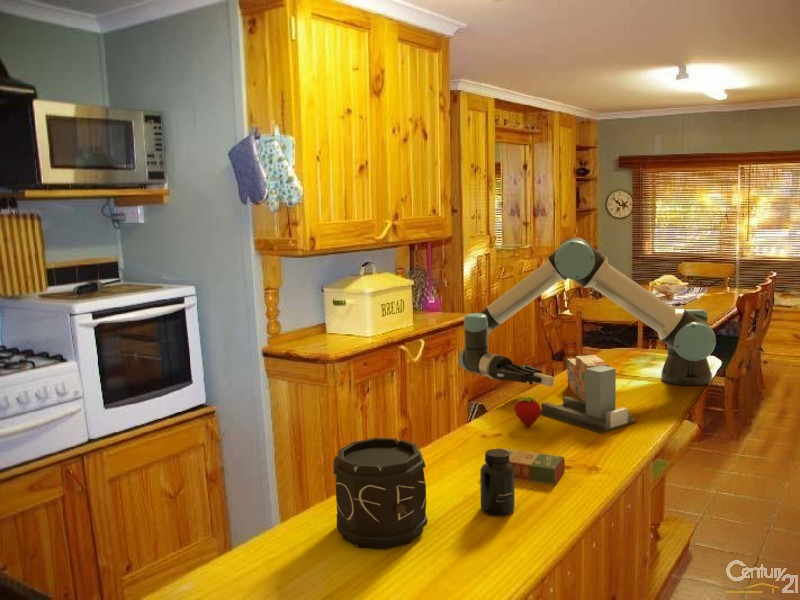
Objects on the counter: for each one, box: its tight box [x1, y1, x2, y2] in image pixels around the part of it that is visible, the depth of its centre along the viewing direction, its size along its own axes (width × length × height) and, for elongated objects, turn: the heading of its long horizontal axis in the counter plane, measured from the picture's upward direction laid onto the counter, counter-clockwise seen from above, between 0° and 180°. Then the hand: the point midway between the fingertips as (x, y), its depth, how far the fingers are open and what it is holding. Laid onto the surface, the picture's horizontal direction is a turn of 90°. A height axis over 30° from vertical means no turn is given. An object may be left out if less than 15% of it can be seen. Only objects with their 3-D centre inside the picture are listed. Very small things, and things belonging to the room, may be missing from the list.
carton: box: [496, 447, 566, 486], centre depth 161 cm, size 8×16×4 cm, turn 63°
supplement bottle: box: [479, 448, 516, 517], centre depth 143 cm, size 7×7×12 cm
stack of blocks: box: [566, 354, 610, 402], centre depth 218 cm, size 21×6×12 cm, turn 3°
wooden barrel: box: [332, 437, 428, 551], centre depth 136 cm, size 18×18×16 cm
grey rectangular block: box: [586, 365, 617, 420], centre depth 193 cm, size 6×5×14 cm
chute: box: [540, 396, 637, 434], centre depth 198 cm, size 14×23×5 cm, turn 34°
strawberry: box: [513, 391, 541, 429], centre depth 191 cm, size 6×8×10 cm
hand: (551, 381), depth 207 cm, fingers closed
